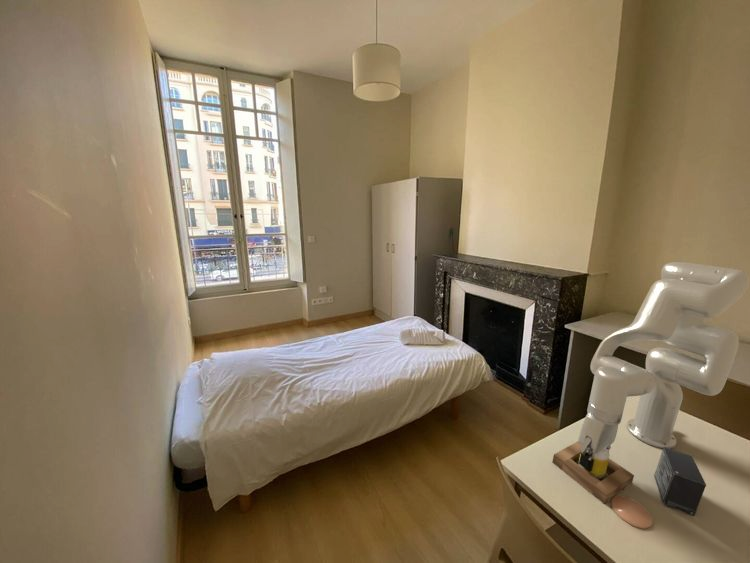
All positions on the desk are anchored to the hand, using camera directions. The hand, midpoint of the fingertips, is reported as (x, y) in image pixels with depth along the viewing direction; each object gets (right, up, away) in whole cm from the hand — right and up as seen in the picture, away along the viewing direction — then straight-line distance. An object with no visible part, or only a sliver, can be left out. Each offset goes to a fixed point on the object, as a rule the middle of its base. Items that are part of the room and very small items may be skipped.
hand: (592, 462), depth 87 cm
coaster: (+2, -7, -10) cm, 12 cm away
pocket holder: (0, -4, +1) cm, 4 cm away
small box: (+18, -6, -6) cm, 20 cm away
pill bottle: (0, -4, +1) cm, 4 cm away
